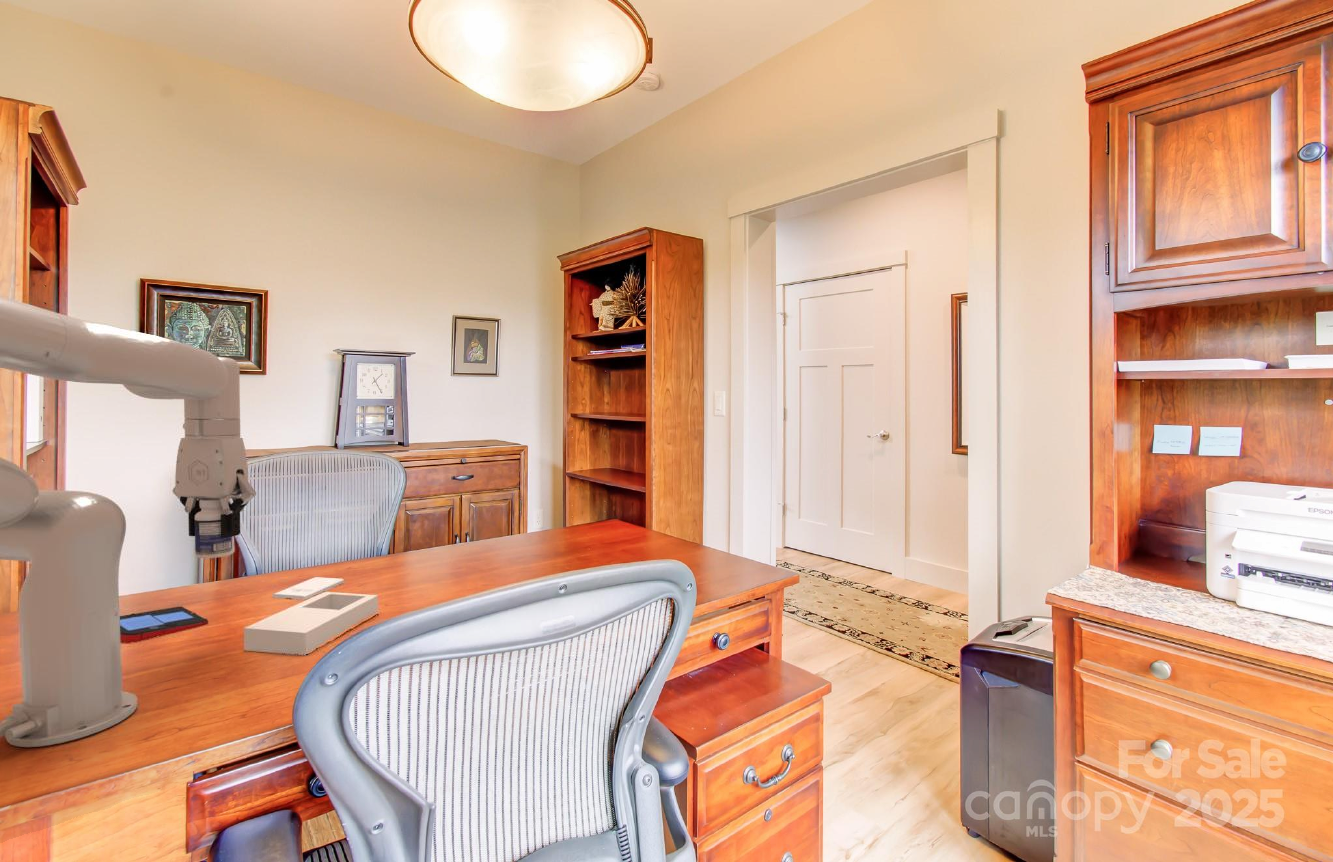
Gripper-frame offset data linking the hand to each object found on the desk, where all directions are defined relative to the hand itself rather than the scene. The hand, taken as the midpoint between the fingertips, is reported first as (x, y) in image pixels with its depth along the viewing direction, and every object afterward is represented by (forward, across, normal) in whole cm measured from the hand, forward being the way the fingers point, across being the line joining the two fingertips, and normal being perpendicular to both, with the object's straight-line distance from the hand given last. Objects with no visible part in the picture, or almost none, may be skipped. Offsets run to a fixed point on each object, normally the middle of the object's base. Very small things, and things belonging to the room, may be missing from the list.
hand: (214, 534), depth 101 cm
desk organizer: (+21, +9, +12) cm, 26 cm away
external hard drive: (+21, -10, +34) cm, 41 cm away
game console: (+22, -23, +10) cm, 33 cm away
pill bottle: (+4, 0, 0) cm, 4 cm away
